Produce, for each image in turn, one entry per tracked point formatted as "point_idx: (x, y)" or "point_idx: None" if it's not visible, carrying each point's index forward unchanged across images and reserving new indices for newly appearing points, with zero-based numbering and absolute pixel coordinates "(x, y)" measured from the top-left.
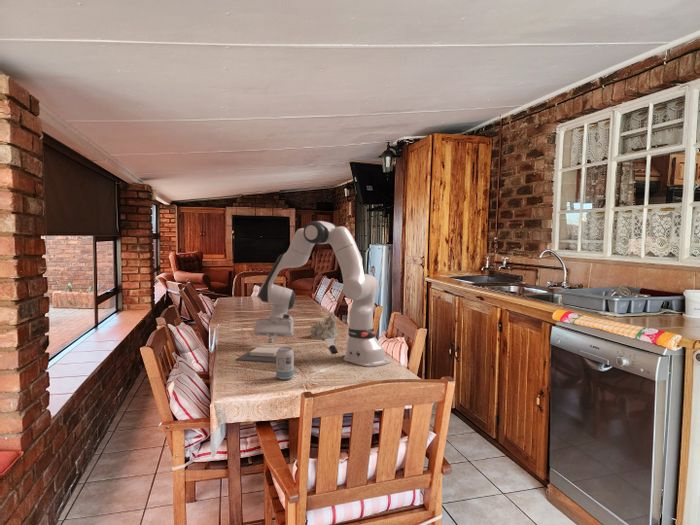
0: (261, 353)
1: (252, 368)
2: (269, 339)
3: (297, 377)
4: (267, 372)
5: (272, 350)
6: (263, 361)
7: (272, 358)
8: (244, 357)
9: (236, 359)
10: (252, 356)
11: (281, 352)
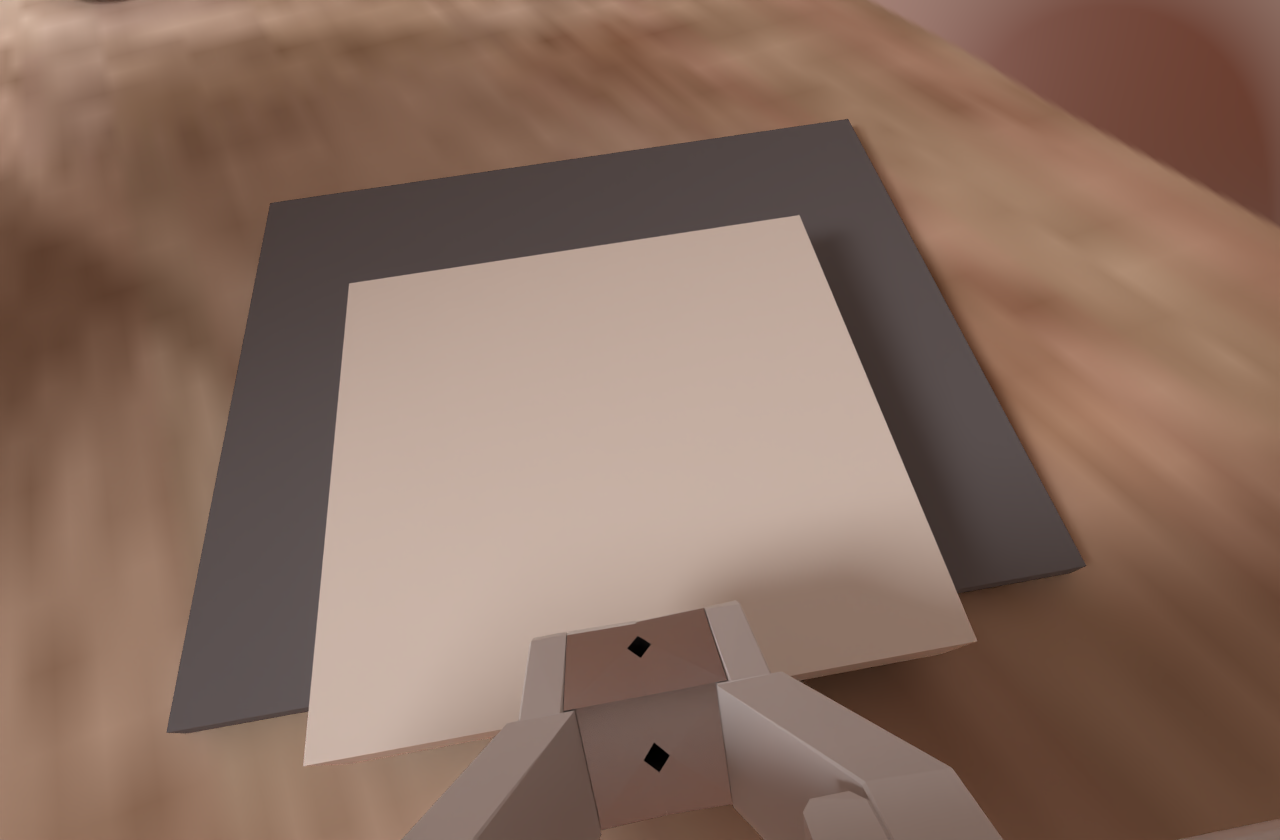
0: (586, 260)
1: (490, 31)
2: (662, 645)
3: (8, 7)
4: (302, 8)
5: (445, 418)
6: (470, 181)
7: None
8: (804, 196)
9: (840, 123)
10: None
11: None
